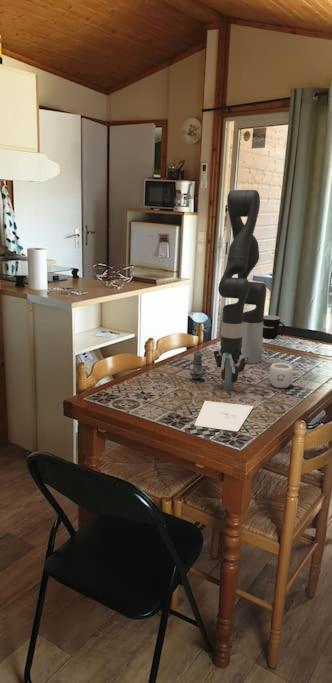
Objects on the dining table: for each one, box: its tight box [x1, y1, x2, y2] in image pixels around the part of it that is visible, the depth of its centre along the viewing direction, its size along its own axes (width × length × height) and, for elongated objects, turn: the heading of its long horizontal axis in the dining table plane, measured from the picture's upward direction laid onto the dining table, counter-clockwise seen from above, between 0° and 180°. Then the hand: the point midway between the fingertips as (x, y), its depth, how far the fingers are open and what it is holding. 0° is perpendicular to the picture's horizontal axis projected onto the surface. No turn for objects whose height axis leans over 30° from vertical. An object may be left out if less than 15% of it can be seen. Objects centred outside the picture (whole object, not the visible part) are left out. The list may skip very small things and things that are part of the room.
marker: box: [223, 352, 235, 392], centre depth 192 cm, size 4×4×14 cm
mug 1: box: [262, 314, 286, 340], centre depth 262 cm, size 12×9×10 cm
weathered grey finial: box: [189, 349, 206, 384], centre depth 200 cm, size 6×6×12 cm
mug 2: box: [268, 362, 304, 389], centre depth 196 cm, size 12×8×8 cm
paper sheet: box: [193, 400, 255, 432], centre depth 173 cm, size 24×29×1 cm
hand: (229, 380), depth 193 cm, fingers closed on marker, 3 cm apart
